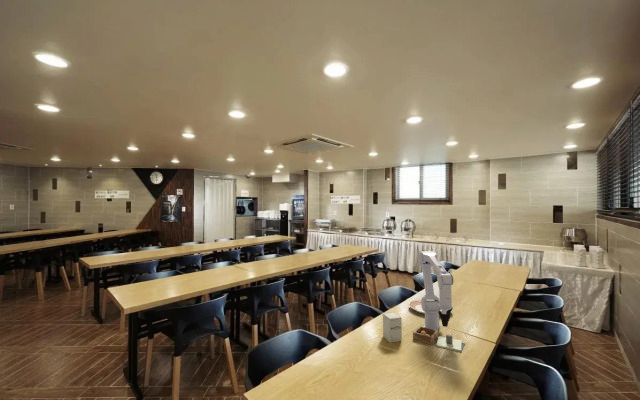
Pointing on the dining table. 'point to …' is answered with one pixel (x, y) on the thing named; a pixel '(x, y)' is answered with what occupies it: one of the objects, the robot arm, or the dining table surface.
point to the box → (425, 338)
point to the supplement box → (392, 327)
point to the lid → (449, 343)
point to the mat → (454, 350)
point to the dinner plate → (417, 306)
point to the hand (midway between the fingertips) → (445, 323)
